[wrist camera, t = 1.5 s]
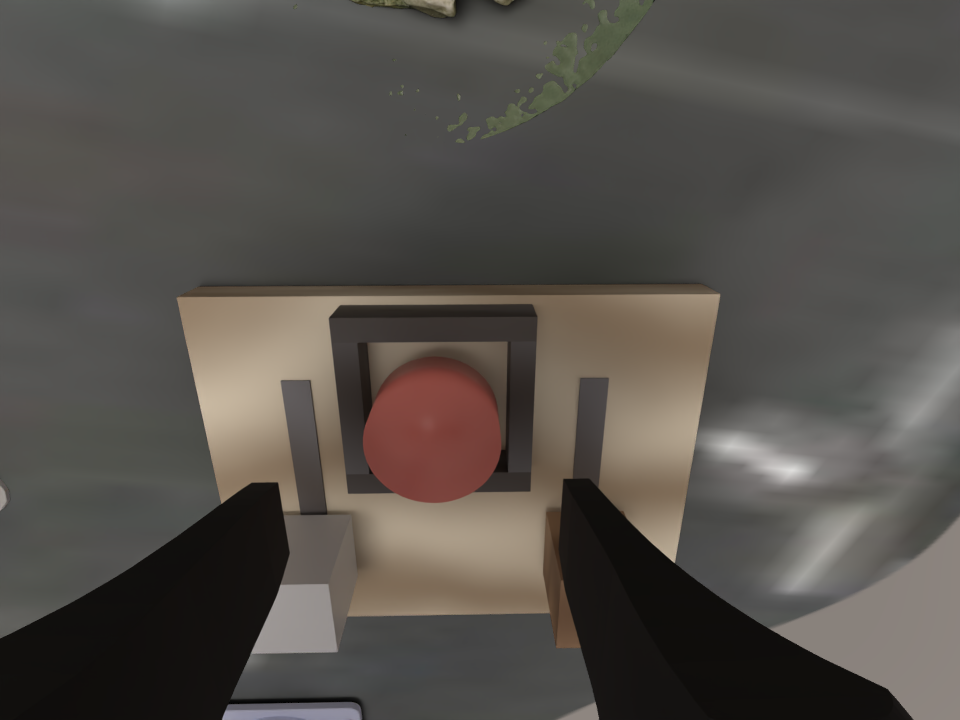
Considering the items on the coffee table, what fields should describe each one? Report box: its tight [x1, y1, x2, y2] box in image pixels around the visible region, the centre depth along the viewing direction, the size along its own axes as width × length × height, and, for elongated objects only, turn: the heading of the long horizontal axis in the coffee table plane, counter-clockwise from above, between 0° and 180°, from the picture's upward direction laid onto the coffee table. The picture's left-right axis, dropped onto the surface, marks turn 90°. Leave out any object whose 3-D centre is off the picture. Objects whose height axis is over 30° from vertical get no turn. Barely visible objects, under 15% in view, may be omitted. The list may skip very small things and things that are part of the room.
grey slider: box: [251, 515, 358, 654], centre depth 19 cm, size 3×3×4 cm
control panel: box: [177, 284, 720, 616], centre depth 20 cm, size 14×18×3 cm
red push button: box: [363, 356, 501, 503], centre depth 16 cm, size 4×4×2 cm
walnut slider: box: [543, 511, 626, 648], centre depth 19 cm, size 3×3×4 cm
